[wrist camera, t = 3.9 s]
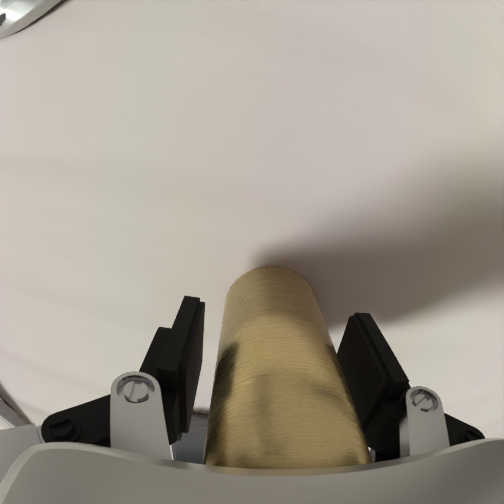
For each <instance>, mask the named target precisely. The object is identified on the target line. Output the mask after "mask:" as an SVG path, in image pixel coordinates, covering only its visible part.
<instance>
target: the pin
mask: <svg viewBox="0 0 504 504" xmlns="http://www.w3.org/2000/svg"><path fill="white" fill-rule="evenodd" d="M368 463H373V462H372V459H371V456H370V452H369V449H368V446H367V443H366V440H365V436H364V433H363V430H362V427H361V424H360V421H359V418H358V415H357V412H356V409H355V406H354V403H353V400H352V397H351V394H350V391H349V388H348V385H347V382H346V379H345V377H344V374H343V371H342V368H341V365H340V362H339V360H338V357H337V354H336V351H335V348H334V346H333V343H332V340H331V337H330V335H329V332H328V329H327V327H326V324H325V321H324V319H323V316H322V313H321V311H320V308H319V305H318V303H317V300H316V298H315V295H314V292H313V290H312V288H311V286H310V285H309V283H308V282H307V281H306V280H305V278H303V277H302V276H301V275H300V274H298V273H296V272H295V271H292V270H290V269H287V268H284V267H278V266H266V267H260V268H257V269H254V270H251V271H249V272H247V273H245V274H244V275H242V276H241V277H240V278H238V279H237V280H236V281H235V282H234V284H233V285H232V286H231V288H230V290H229V292H228V294H227V297H226V302H225V308H224V315H223V321H222V328H221V335H220V341H219V348H218V355H217V362H216V369H215V376H214V383H213V390H212V398H211V405H210V412H209V420H208V427H207V435H206V443H205V450H204V458H203V465H211V466H221V467H233V468H248V469H316V468H332V467H343V466H353V465H361V464H368Z"/></svg>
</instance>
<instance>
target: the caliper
mask: <svg viewBox="0 0 504 504" xmlns="http://www.w3.org/2000/svg"><path fill="white" fill-rule="evenodd" d="M0 418H1V419H2V420H3V421H5V422H6V423H7V424H8V425H10V426H11V427H13V428H15V427H20V426H25V425H28V424H27V423H26V422H25V421H24V420H23V419H22V418H21V417H20V416H19V415H18V414H17V413H16V412H15V411H14V410H13V409H11V408H10V407H9V406H8V405H6V404H5V403H4V402H3V401H2V400H0Z"/></svg>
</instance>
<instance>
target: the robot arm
mask: <svg viewBox="0 0 504 504" xmlns="http://www.w3.org/2000/svg"><path fill="white" fill-rule="evenodd" d="M60 1H61V0H0V39H1V38H4V37H7V36H10V35H12V34H13V33H15V32H17V31H19V30H21V29H23V28H24V27H26V26H28V25H29V24H30V23H32V22H33V21H35V20H36V19H38V18H39V17H41V16H42V15H44V14H45V13H46V12H47V11H48V10H50V9H51V8H52V7H53V6H55V5H56V4H57V3H59V2H60ZM204 313H205V302H200V298H198V297H190V296H184V299H183V301H182V304H181V306H180V309H179V311H178V314H177V316H176V319H175V321H174V324H173V326H172V329H171V328H165V327H159V328H158V330H157V332H156V334H155V336H154V338H153V341H152V343H151V345H150V347H149V350H148V352H147V354H146V356H145V359H144V361H143V363H142V366H141V368H140V370H139V372H135V371H134V372H127V373H124V374H122V375H120V376H118V377H117V378H116V379H115V380H114V381H113V383H112V386H111V394H110V395H107V396H104V397H101V398H98V399H96V400H93V401H90V402H87V403H84V404H81V405H78V406H75V407H72V408H69V409H66V410H63V411H60V412H57V413H54V414H52V415H50V416H49V417H47V418H46V419H45V420H44V422H43V424H42V425H41V426H37V427H36V425H35V424H29V425H25V426H20V427H15V428H9V429H4V430H0V504H504V439H503V438H490V439H488V438H487V439H485V437H484V435H483V434H482V433H481V432H480V431H479V430H478V429H476V428H475V427H473V426H471V425H468V424H466V423H464V422H462V421H460V420H458V419H456V418H454V417H452V416H450V415H447V414H445V413H444V411H443V406H442V402H441V399H440V397H439V396H438V395H437V394H436V393H435V392H434V391H433V390H431V389H429V388H426V387H422V386H416V387H412V388H411V387H410V385H409V383H408V382H409V380H408V378H407V376H406V374H405V373H404V371H403V369H402V367H401V365H400V364H399V362H398V360H397V358H396V357H395V355H394V353H393V352H392V350H391V348H390V346H389V345H388V343H387V341H386V340H385V338H384V336H383V335H382V333H381V331H380V330H379V328H378V326H377V325H376V323H375V321H374V320H373V318H372V316H371V315H370V314H369V313H355V314H354V315H353V316H350V317H349V319H348V322H347V326H346V329H345V332H344V335H343V338H342V341H341V343H340V346H339V349H338V352H337V357H338V360H339V362H340V365H341V368H342V371H343V374H344V377H345V379H346V382H347V385H348V388H349V391H350V394H351V397H352V400H353V403H354V406H355V409H356V412H357V415H358V418H359V421H360V424H361V427H362V430H363V433H364V436H365V440H366V443H367V446H368V447H370V448H371V449H370V456H371V459H372V462H373V463H368V464H361V465H353V466H343V467H332V468H316V469H248V468H233V467H221V466H211V465H203V464H195V463H188V462H181V461H175V460H172V457H171V452H170V446H169V445H171V444H173V443H175V442H177V440H178V441H181V438H182V433H187V434H188V432H189V427H190V422H191V417H192V411H193V406H194V401H195V396H196V391H197V386H198V381H199V376H200V371H201V365H202V354H203V332H204Z"/></svg>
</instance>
